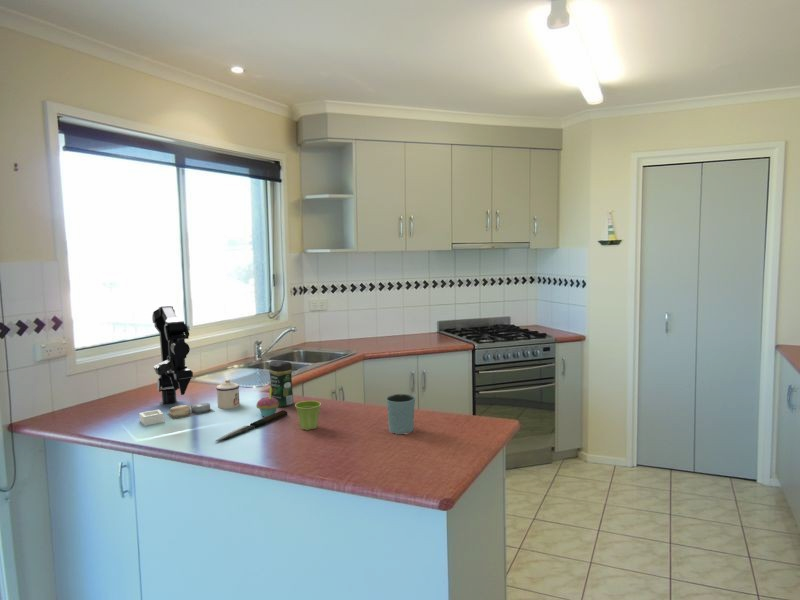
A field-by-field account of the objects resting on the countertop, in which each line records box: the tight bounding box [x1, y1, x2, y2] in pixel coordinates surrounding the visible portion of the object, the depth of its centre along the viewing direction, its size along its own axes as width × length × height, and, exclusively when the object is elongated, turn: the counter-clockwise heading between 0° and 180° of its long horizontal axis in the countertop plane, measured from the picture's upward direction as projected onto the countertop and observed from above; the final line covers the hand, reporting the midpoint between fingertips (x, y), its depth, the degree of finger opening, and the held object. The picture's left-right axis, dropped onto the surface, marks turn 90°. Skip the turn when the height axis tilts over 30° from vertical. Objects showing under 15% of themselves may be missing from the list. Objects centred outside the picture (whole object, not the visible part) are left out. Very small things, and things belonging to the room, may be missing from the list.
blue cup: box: [385, 393, 416, 435], centre depth 195 cm, size 10×10×12 cm
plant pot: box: [294, 400, 322, 431], centre depth 201 cm, size 9×9×9 cm
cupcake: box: [256, 387, 279, 418], centre depth 217 cm, size 9×8×12 cm
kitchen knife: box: [215, 409, 288, 442], centre depth 203 cm, size 36×2×5 cm
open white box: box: [138, 408, 165, 427], centre depth 211 cm, size 7×7×4 cm
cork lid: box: [169, 404, 191, 418], centre depth 219 cm, size 7×7×3 cm
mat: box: [166, 407, 215, 421], centre depth 221 cm, size 10×16×1 cm, turn 127°
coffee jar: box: [268, 359, 294, 408], centre depth 232 cm, size 10×8×19 cm
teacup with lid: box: [216, 378, 241, 410], centre depth 231 cm, size 12×9×12 cm
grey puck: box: [190, 402, 211, 413], centre depth 224 cm, size 7×7×2 cm
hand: (179, 392), depth 218 cm, fingers open, 9 cm apart
